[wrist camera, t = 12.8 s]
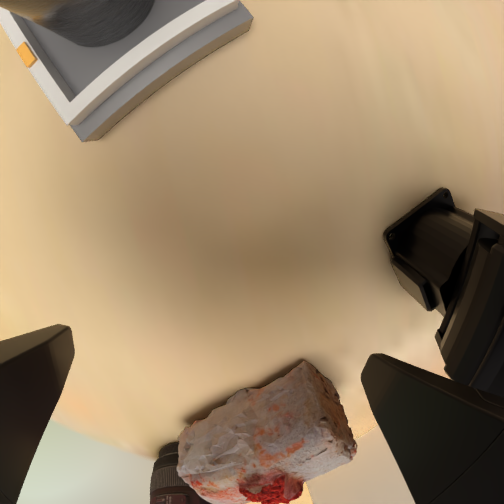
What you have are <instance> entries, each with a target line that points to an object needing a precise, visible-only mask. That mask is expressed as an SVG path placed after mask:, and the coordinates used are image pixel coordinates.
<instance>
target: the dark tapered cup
mask: <svg viewBox="0 0 504 504" xmlns="http://www.w3.org/2000/svg"><path fill="white" fill-rule="evenodd" d="M154 2H155V0H0V7H2V8H4V9H6V10H8V11H10V12H13V13H15V14H17V15H19V16H21V17H23V18H26V19H28V20H30V21H32V22H34V23H36V24H38V25H40V26H42V27H44V28H46V29H48V30H50V31H52V32H54V33H56V34H58V35H60V36H61V37H63V38H65V39H67V40H69V41H71V42H73V43H75V44H77V45H79V46H83V47H91V48H92V47H101V46H106V45H109V44H112V43H115V42H117V41H119V40H121V39H123V38H125V37H126V36H128V35H129V34H131V33H132V32H133V31H134V30H136V29H137V28H138V27H139V26H140V25H141V24H142V23H143V21H144V20H145V19H146V18H147V16H148V15H149V13H150V11H151V10H152V7H153V5H154Z"/></svg>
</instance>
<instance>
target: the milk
mask: <svg viewBox="0 0 504 504" xmlns="http://www.w3.org/2000/svg"><path fill="white" fill-rule="evenodd" d="M355 441H356V443H357V445H358V446H357V450H356V451H357V453H356V455H355V456H354V457H353V460H352V461H351V462H349V463H348V464H344V465H341V466H339V467H337V468H336V469H334V470H331V471H329V472H327V473H325V474H323V475H320V476H317V477H315V478H314V479H311V480H308V481H306V483H307V486H308V489H309V492H310V495H311V498H312V501H313V504H415V502H414V500H413V497H412V495H411V493H410V491H409V489H408V486H407V484H406V482H405V480H404V478H403V476H402V473H401V471H400V469H399V467H398V465H397V463H396V461H395V459H394V456H393V454H392V452H391V450H390V448H389V446H388V444H387V442H386V440H385V438H384V436H383V433H382V431H381V429H380V427H379V425H377V426H375V427H374V428H372V429H371V430H369V431H368V432H366V433H365V434H363V435H361V436H360V437H358V438H357V439H355ZM355 448H356V444H355Z"/></svg>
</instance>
